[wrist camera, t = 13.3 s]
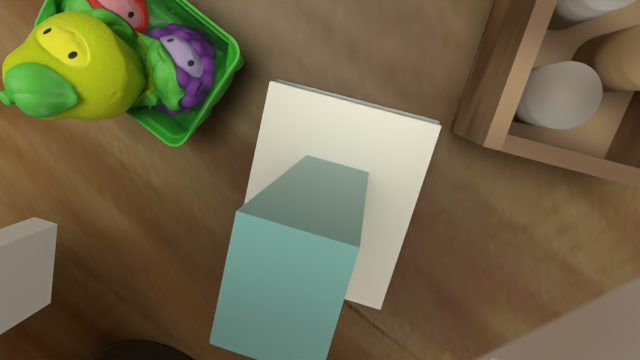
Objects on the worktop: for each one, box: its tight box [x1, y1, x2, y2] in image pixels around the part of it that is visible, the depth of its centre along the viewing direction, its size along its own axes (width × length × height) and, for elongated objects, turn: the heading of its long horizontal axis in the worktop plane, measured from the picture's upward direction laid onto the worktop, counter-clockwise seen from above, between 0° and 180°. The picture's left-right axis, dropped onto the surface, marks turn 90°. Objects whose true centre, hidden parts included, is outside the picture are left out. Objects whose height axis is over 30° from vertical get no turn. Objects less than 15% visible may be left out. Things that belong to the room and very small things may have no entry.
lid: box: [209, 81, 441, 360], centre depth 19 cm, size 13×11×14 cm
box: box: [450, 0, 640, 188], centre depth 19 cm, size 12×10×8 cm
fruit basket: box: [0, 0, 245, 147], centre depth 21 cm, size 11×9×11 cm
